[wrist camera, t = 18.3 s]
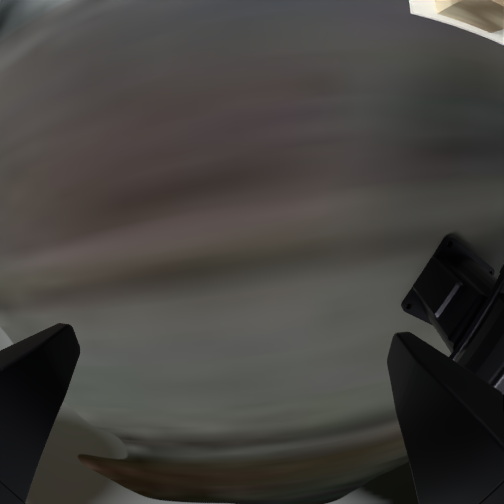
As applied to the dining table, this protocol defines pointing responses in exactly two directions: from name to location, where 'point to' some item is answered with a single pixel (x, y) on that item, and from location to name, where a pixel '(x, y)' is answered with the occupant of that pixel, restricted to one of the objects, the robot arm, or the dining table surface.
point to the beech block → (474, 12)
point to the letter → (450, 19)
